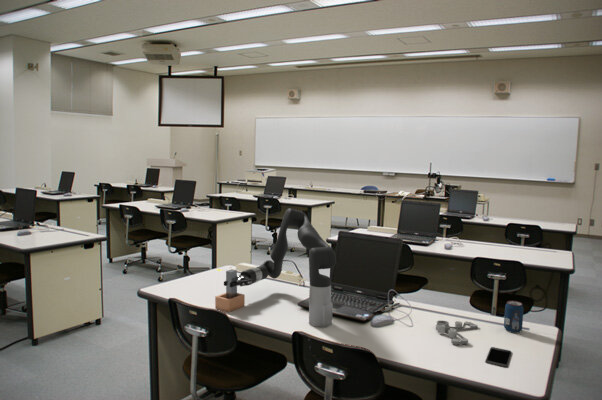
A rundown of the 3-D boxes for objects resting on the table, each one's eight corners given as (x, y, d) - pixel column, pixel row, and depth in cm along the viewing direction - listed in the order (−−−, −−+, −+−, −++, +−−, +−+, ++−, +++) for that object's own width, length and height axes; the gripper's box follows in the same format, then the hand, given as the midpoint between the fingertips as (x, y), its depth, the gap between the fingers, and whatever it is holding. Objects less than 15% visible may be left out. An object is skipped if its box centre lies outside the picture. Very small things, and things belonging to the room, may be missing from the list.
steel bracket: (237, 301, 206) (237, 270, 204) (229, 304, 201) (229, 273, 199) (231, 299, 208) (231, 269, 207) (222, 302, 203) (222, 271, 202)
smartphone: (484, 363, 153) (484, 361, 152) (490, 348, 165) (490, 345, 165) (507, 369, 149) (507, 367, 149) (512, 353, 161) (512, 350, 161)
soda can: (512, 326, 186) (514, 299, 185) (525, 332, 180) (527, 304, 179) (499, 328, 184) (501, 301, 183) (513, 334, 178) (515, 306, 176)
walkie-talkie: (375, 316, 197) (401, 306, 210) (375, 307, 196) (401, 297, 210) (360, 311, 203) (386, 302, 217) (361, 302, 203) (386, 293, 216)
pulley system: (426, 341, 172) (466, 348, 164) (426, 329, 172) (466, 336, 164) (443, 322, 195) (479, 328, 187) (443, 312, 195) (479, 317, 187)
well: (244, 305, 207) (244, 294, 206) (229, 312, 198) (229, 300, 197) (230, 302, 212) (230, 291, 211) (215, 307, 203) (215, 296, 202)
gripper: (240, 266, 220) (216, 274, 206) (262, 271, 212) (238, 279, 198) (240, 281, 221) (216, 289, 206) (262, 286, 213) (238, 295, 199)
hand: (227, 284), depth 202 cm, fingers closed on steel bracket, 3 cm apart
